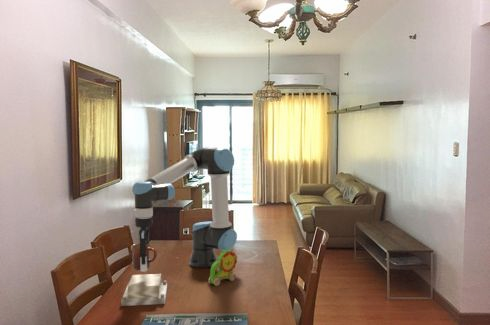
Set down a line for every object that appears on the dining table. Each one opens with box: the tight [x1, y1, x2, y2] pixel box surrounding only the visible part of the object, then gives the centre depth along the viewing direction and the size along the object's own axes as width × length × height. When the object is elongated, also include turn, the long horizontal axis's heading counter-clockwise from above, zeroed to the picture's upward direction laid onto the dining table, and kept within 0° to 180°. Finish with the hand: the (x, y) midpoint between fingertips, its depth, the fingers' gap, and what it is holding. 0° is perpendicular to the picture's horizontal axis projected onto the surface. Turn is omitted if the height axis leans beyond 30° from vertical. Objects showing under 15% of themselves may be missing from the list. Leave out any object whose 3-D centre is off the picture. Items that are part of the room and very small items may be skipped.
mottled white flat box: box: [120, 273, 168, 307], centre depth 186 cm, size 18×18×8 cm
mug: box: [130, 243, 158, 272], centre depth 184 cm, size 12×9×10 cm
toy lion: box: [208, 249, 238, 287], centre depth 205 cm, size 16×5×15 cm, turn 134°
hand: (144, 268), depth 186 cm, fingers closed on mug, 7 cm apart
